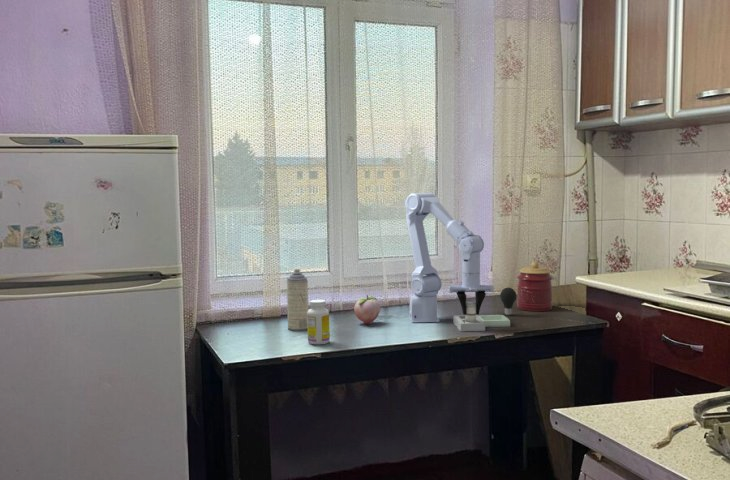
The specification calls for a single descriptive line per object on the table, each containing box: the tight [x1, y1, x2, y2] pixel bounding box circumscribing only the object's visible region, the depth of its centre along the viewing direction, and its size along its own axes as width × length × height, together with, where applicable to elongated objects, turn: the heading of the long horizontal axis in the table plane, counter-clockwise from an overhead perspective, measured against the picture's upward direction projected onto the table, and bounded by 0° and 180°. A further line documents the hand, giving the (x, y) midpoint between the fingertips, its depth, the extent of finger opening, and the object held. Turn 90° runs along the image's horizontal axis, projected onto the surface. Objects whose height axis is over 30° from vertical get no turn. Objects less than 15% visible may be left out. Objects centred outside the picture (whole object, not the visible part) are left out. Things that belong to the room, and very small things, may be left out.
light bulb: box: [499, 287, 517, 317], centre depth 249 cm, size 6×6×10 cm
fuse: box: [465, 301, 477, 323], centre depth 229 cm, size 4×4×7 cm
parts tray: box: [476, 314, 511, 328], centre depth 236 cm, size 9×9×2 cm
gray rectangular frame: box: [452, 314, 486, 332], centre depth 232 cm, size 8×13×2 cm, turn 3°
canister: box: [516, 261, 554, 312], centre depth 261 cm, size 13×13×18 cm
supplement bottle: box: [307, 299, 331, 346], centre depth 213 cm, size 7×7×13 cm
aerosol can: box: [286, 268, 309, 332], centre depth 231 cm, size 7×7×20 cm
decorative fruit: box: [353, 294, 381, 325], centre depth 238 cm, size 9×8×10 cm
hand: (470, 314), depth 229 cm, fingers closed on fuse, 4 cm apart
